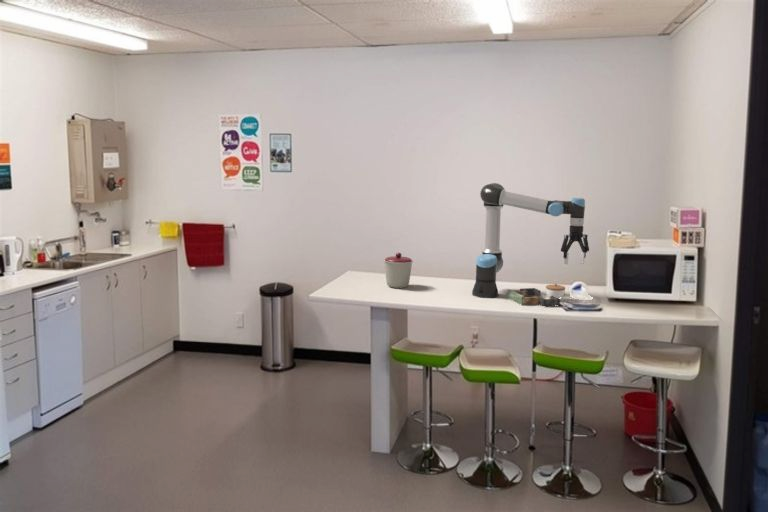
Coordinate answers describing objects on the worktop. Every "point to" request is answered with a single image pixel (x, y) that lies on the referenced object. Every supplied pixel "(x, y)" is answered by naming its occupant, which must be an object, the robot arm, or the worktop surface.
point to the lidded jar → (555, 291)
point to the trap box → (531, 297)
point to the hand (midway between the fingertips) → (574, 263)
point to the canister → (398, 271)
